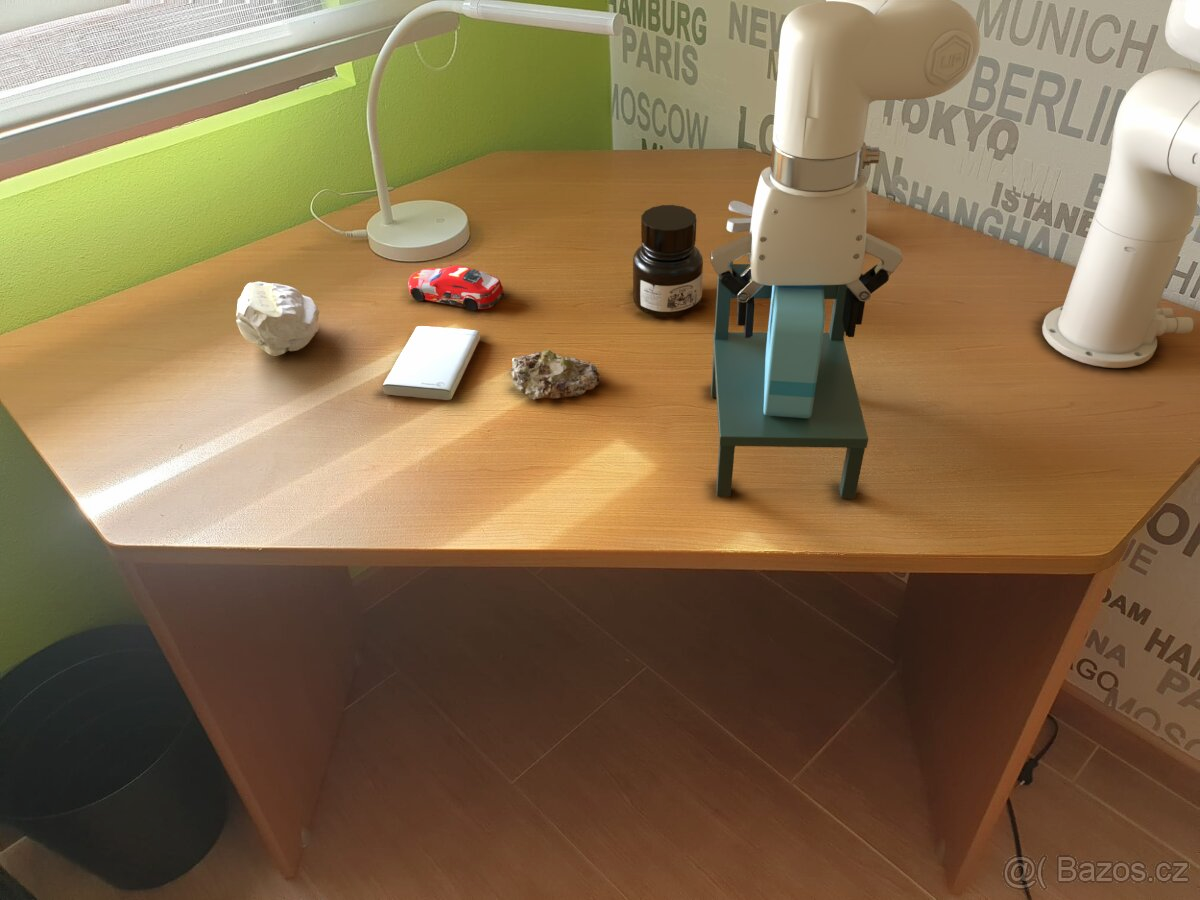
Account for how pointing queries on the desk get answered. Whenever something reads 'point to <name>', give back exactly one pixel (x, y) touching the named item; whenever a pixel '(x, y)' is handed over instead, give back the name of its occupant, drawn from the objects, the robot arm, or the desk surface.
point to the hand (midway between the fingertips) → (797, 329)
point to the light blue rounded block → (793, 350)
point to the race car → (456, 287)
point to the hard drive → (432, 363)
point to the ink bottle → (667, 263)
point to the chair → (743, 394)
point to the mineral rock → (552, 375)
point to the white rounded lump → (276, 317)
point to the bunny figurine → (739, 223)
